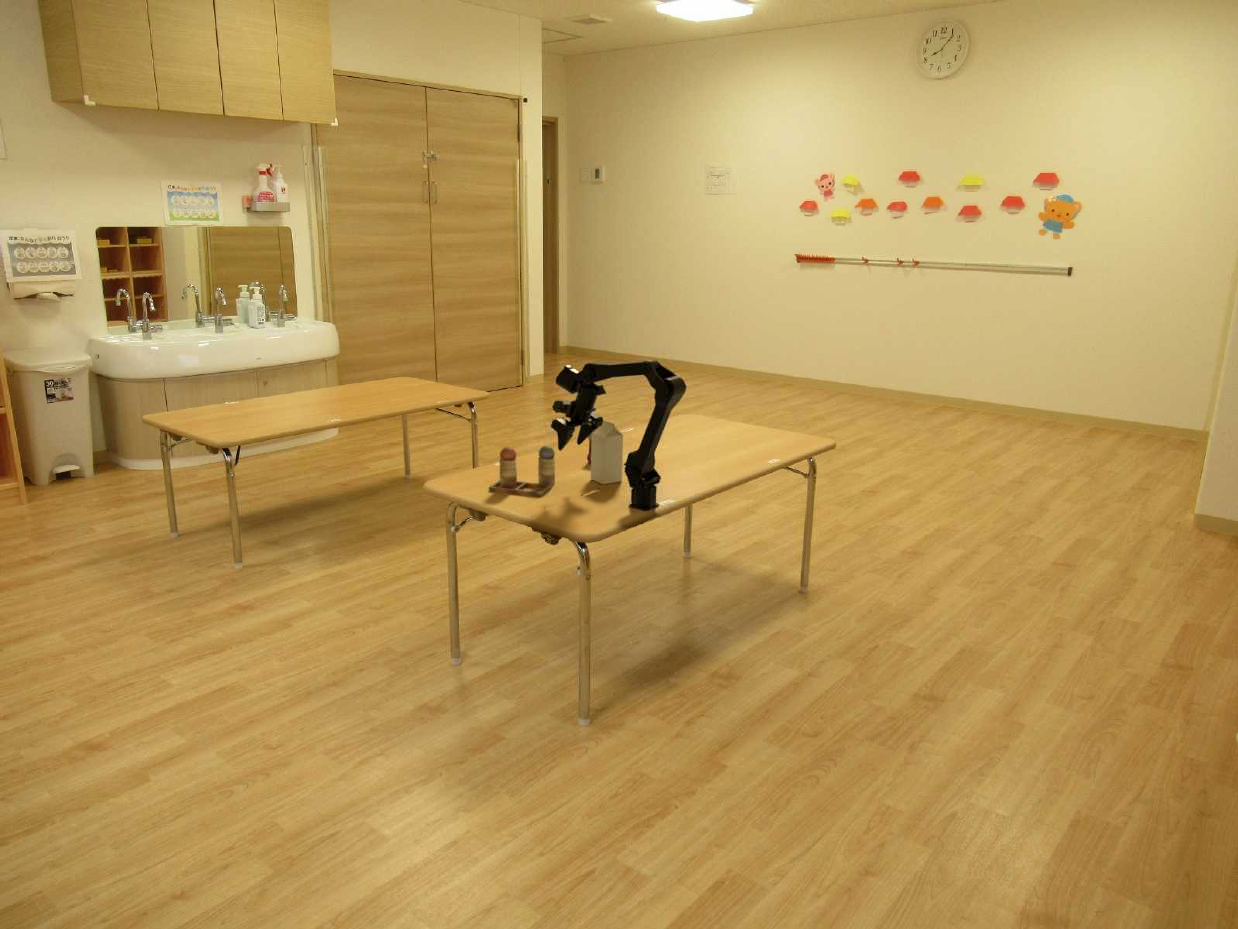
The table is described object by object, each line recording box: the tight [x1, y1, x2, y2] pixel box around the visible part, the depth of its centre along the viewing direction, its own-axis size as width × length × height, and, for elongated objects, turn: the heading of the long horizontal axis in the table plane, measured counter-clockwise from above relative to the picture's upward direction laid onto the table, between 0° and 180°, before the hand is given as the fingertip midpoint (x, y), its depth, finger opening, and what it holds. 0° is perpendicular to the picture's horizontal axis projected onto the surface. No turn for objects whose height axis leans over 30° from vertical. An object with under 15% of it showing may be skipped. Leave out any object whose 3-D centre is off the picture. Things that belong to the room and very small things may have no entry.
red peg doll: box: [499, 446, 518, 489], centre depth 267 cm, size 5×5×13 cm
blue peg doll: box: [537, 445, 556, 486], centre depth 273 cm, size 5×5×13 cm
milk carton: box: [590, 419, 624, 485], centre depth 279 cm, size 7×7×19 cm
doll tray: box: [488, 479, 552, 498], centre depth 267 cm, size 16×9×2 cm, turn 74°
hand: (569, 447), depth 268 cm, fingers open, 9 cm apart
